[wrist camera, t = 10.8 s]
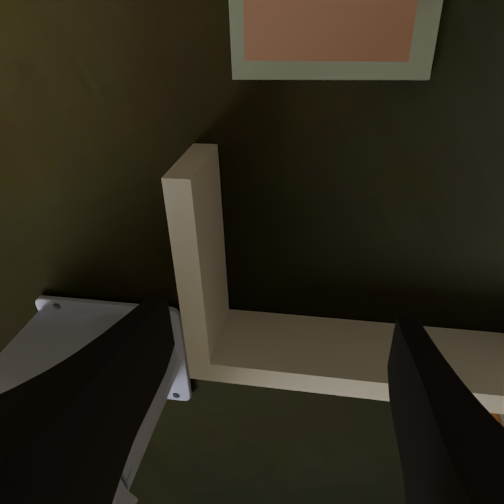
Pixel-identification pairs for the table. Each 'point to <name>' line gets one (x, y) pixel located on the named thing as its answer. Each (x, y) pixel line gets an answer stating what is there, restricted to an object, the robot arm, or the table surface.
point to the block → (328, 30)
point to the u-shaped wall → (288, 315)
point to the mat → (341, 70)
